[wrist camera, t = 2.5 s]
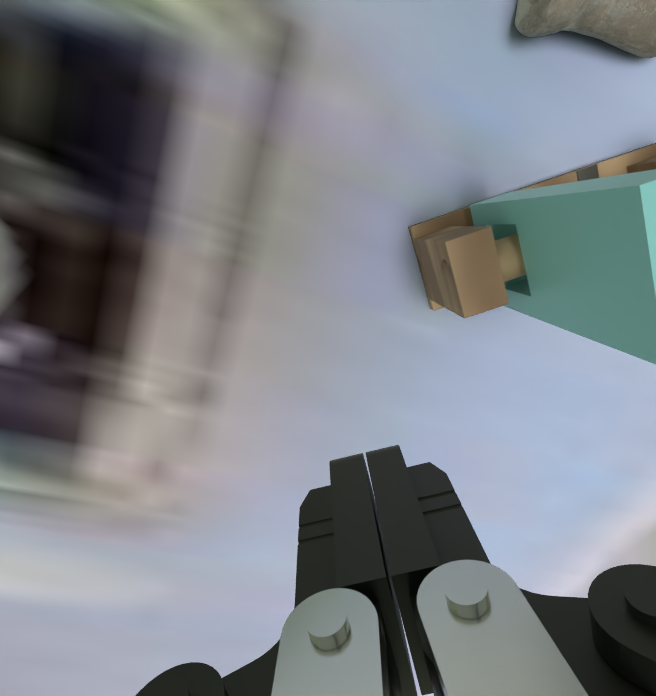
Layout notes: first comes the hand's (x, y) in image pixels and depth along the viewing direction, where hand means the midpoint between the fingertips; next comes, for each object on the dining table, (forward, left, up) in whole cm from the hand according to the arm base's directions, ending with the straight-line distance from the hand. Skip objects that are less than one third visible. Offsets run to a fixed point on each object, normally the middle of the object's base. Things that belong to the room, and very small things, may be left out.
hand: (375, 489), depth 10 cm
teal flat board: (-5, +11, -22) cm, 25 cm away
